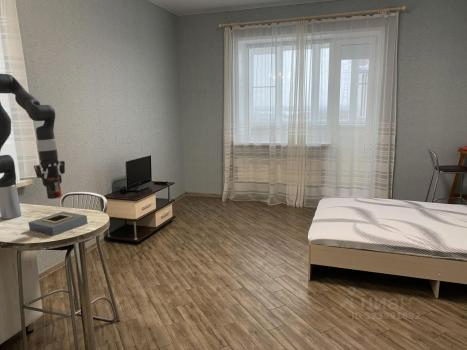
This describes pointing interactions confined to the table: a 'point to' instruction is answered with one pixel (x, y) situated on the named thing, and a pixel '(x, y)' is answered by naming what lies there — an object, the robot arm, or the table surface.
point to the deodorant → (53, 183)
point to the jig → (57, 223)
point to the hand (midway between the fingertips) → (52, 184)
